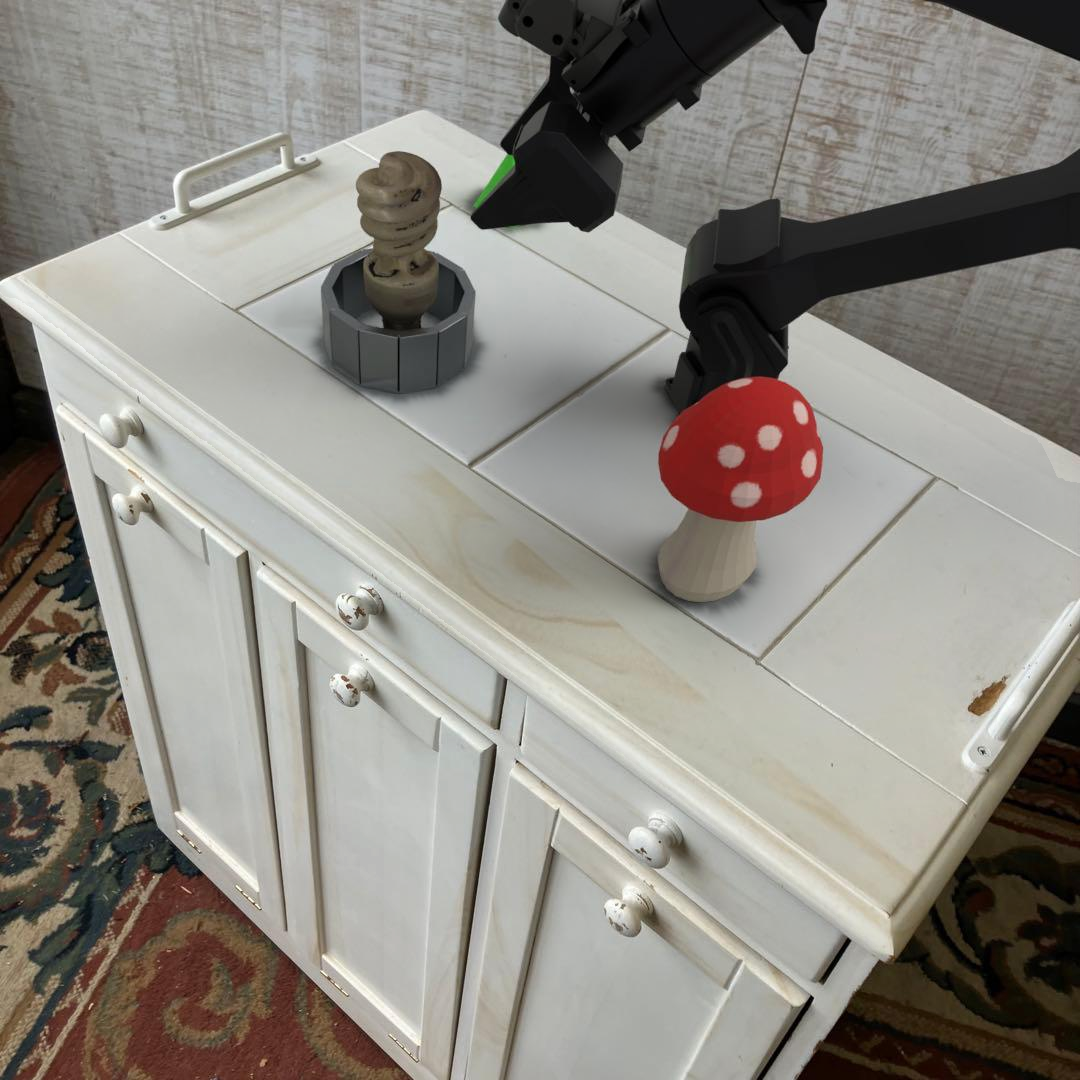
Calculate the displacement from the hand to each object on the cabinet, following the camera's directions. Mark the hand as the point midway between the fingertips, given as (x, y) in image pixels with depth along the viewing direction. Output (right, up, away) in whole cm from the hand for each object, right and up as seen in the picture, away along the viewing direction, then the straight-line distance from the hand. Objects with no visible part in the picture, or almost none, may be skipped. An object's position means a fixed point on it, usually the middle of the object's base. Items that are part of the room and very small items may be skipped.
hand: (490, 184), depth 70 cm
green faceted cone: (0, +6, +25) cm, 26 cm away
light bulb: (-7, -8, +11) cm, 16 cm away
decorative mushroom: (+14, -25, 0) cm, 28 cm away
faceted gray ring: (-7, -8, +11) cm, 16 cm away
